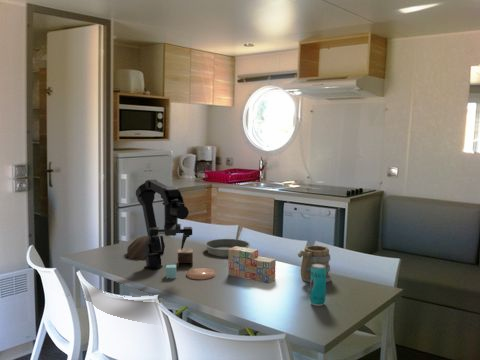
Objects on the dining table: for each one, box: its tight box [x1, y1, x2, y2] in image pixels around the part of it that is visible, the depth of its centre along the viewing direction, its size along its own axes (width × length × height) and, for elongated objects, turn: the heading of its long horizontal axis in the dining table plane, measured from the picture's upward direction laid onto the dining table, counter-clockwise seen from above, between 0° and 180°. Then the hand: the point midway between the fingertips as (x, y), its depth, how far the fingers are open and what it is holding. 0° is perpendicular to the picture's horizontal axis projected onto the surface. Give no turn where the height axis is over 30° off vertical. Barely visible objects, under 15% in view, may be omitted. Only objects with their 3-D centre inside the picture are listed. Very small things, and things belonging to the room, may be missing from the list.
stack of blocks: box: [227, 246, 277, 284], centre depth 210 cm, size 21×6×12 cm, turn 57°
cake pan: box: [204, 238, 251, 257], centre depth 255 cm, size 25×25×4 cm
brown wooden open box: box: [177, 248, 194, 268], centre depth 229 cm, size 7×7×7 cm
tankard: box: [297, 245, 332, 283], centre depth 206 cm, size 20×13×15 cm, turn 135°
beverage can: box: [309, 264, 327, 307], centre depth 178 cm, size 6×6×15 cm
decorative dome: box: [125, 235, 164, 260], centre depth 247 cm, size 19×20×10 cm
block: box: [165, 264, 177, 280], centre depth 210 cm, size 4×4×5 cm
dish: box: [186, 267, 217, 281], centre depth 213 cm, size 13×13×1 cm
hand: (171, 250), depth 209 cm, fingers open, 9 cm apart
